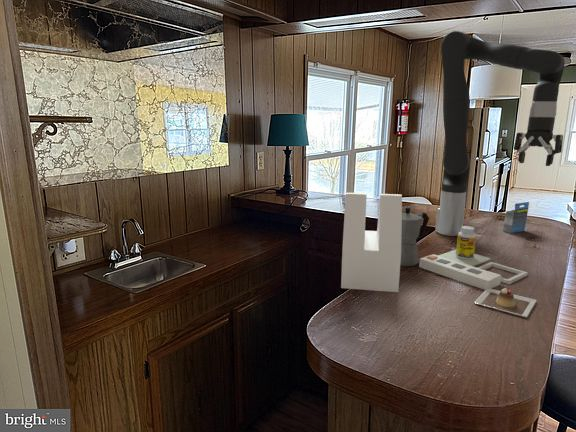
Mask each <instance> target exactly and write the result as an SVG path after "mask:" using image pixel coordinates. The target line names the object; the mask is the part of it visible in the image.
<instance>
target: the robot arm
mask: <svg viewBox="0 0 576 432" xmlns="http://www.w3.org/2000/svg"><path fill="white" fill-rule="evenodd" d="M440 45H441V46H440V53H441V61H442V63H441V64H442V71H443V72H442V73H443V75H442V76H443V79H442V82H443V83H442V89H443V91H442V92H443V93H442V95H443V96H442V97H443V98H442V115H443V129H444V139H445V141H444V152H443V160H442V165H443V175H442V176H443V178H442V181H441V188H440V189H441V190H440V200H439V208H437V211H436V217H435V218H436V219H435V231H434V232H436V233H438V234H440V235H444V236H450V237H458V233H459V232H461V227H462V226H464V225H463V224H464V216H465V211H466V210H465V207H466V200H467V199H466V197H467V190H468V189H467V188H468V182H469V174H470V166H471V157H470V155H469V153H468V150H467V148H468V147H467V133H468V127H469V122H470V108H471V106H470V105H471V103H470V100H471V97H470V90H469V86H468V81H467V79H466V75H465V60H476V61H477V60H478V61H483V62H486V63H491V64H493V65H498V66H501V67H507V68H511V69H515V70H522V71H523V70H526V71H529V72H535V73H538V78H537V83H536V85H535V87H534V90H533V94H532V102H531V106H530V109H529V116H528V121H527V128H526V129H527V130H526V133H524V132H517V133H516V136H515V141H514V145H513V150H515V151H517V152H518V158H517V161H518V163H519V164H524V163H525V158H526V151H527V150H528V149H529V148H530V147H538V148H542V147H543V149H544V150H546V152H547V155H546V160H545V167H550V166H551V165H553V163H554V158H555V155H556V154H560V153H562V150H563V140H564V135H563V134H554V133H553V131H554V127H555V123H556V122H555V120H556V116H557V110H558V109H557V108H558V105H557V104H558V98H559V97H558V96H559V91H560V89H559V88H560V84H561V80H562V78H563V77H562V76H563V74H564V70H565V57H564V56H563V55H562V54H561V53H559V52H557V51H555V50H548V49H539V48H530V47H527V46H522V45H518V44H517V45H515V44H510V43H498V42H489V41H486V40H485V41H484V40H481V39H477V38H475V37H473V36H470V35H469V34H467V33H465V32H462V31H458V30H453V31H450V32H448V33H447V34H445V36H444V37H443V39H442V42H441V44H440ZM524 139H526V141H525V142H524V143H523V140H524ZM552 140H553V141H554V142H555V143H554V148H553V145H552V143H551V141H552ZM522 143H523V144H522Z"/></svg>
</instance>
